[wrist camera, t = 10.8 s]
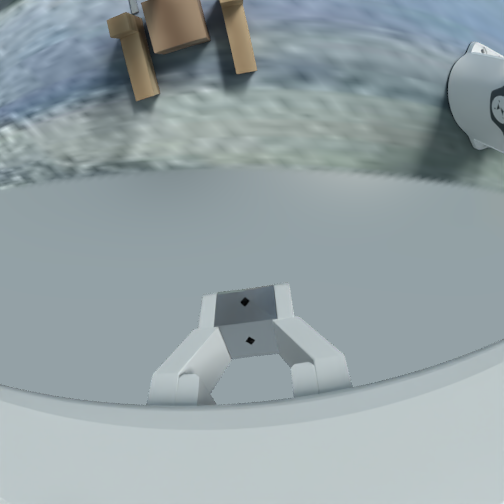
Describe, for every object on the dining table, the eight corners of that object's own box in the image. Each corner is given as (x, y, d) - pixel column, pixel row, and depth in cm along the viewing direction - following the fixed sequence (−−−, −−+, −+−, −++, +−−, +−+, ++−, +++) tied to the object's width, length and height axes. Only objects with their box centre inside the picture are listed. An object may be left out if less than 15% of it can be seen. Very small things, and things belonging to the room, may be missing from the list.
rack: (238, -7, 26) (238, -20, 21) (255, 70, 32) (258, 70, 27) (124, 25, 27) (106, 20, 22) (143, 98, 33) (128, 104, 28)
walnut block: (198, -5, 26) (192, -15, 22) (210, 40, 30) (206, 37, 26) (152, 9, 26) (141, 3, 22) (164, 54, 30) (154, 53, 26)
